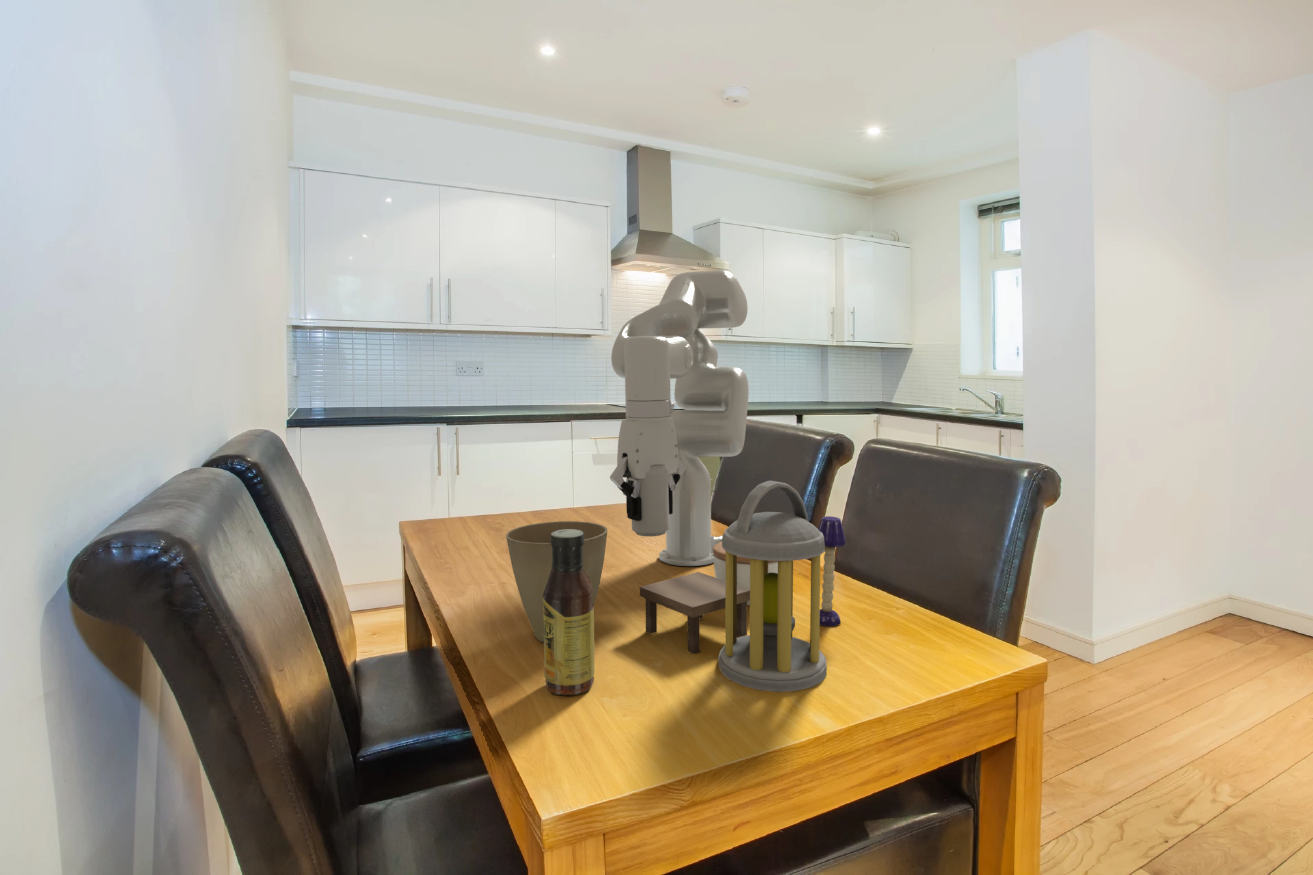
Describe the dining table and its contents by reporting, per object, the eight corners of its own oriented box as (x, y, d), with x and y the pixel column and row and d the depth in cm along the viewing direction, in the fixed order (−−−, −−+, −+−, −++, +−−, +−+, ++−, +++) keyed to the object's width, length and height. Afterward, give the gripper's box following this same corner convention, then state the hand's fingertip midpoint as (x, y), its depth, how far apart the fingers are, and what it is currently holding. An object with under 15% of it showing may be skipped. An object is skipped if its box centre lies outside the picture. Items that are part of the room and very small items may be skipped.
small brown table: (698, 613, 110) (698, 571, 109) (752, 635, 100) (752, 589, 100) (640, 631, 102) (639, 586, 102) (693, 656, 93) (692, 607, 92)
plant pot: (604, 614, 110) (602, 518, 109) (614, 650, 95) (612, 540, 94) (511, 620, 107) (508, 522, 106) (506, 658, 93) (503, 545, 91)
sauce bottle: (546, 676, 87) (543, 526, 85) (595, 674, 88) (592, 524, 86) (542, 701, 80) (538, 538, 79) (594, 698, 81) (592, 536, 79)
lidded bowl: (793, 592, 120) (794, 531, 119) (775, 615, 109) (775, 548, 108) (726, 583, 126) (726, 525, 125) (702, 604, 114) (702, 541, 113)
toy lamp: (845, 618, 107) (846, 515, 105) (843, 629, 102) (844, 521, 101) (814, 615, 108) (815, 513, 107) (811, 625, 104) (812, 519, 103)
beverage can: (665, 538, 111) (664, 466, 109) (627, 537, 112) (626, 466, 111) (672, 528, 117) (671, 460, 116) (636, 527, 118) (635, 460, 117)
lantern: (775, 638, 99) (776, 470, 97) (850, 673, 87) (853, 483, 85) (697, 660, 92) (696, 479, 89) (768, 702, 80) (769, 494, 77)
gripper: (673, 406, 120) (674, 505, 123) (592, 412, 110) (595, 520, 112) (701, 408, 115) (702, 512, 117) (619, 415, 104) (622, 529, 106)
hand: (650, 515), depth 114 cm, fingers closed on beverage can, 6 cm apart
